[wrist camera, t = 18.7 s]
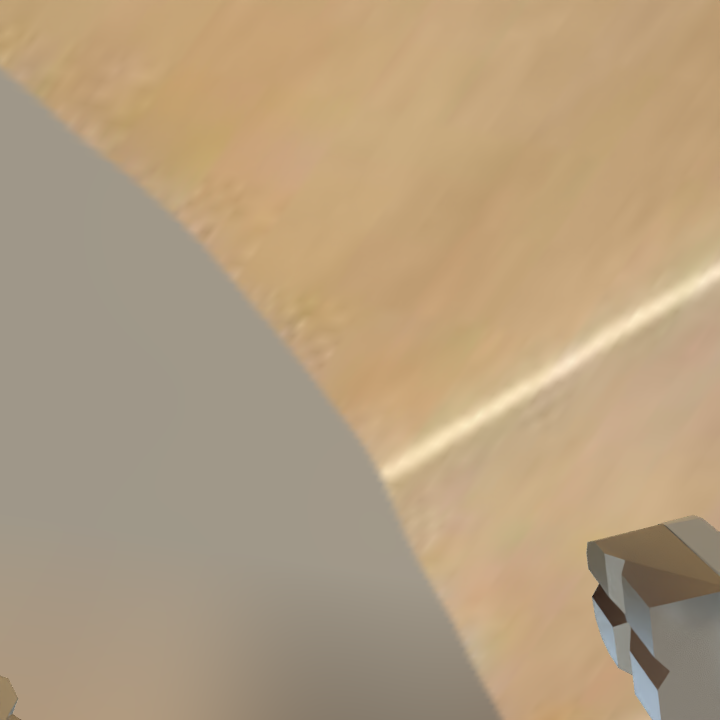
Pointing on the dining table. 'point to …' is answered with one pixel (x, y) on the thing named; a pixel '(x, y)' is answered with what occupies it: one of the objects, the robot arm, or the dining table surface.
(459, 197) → the dining table surface
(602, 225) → the dining table surface
